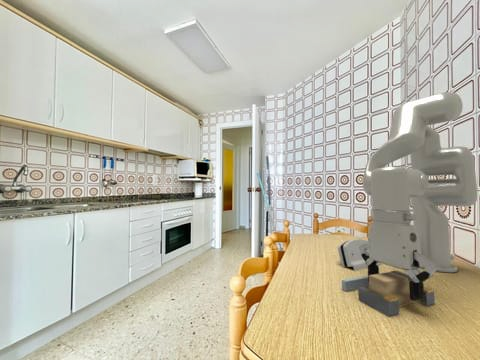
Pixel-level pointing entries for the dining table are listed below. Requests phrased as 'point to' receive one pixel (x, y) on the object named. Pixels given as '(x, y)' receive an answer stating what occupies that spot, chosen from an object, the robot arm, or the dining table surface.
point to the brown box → (392, 285)
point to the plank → (355, 283)
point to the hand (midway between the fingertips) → (393, 289)
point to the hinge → (352, 254)
